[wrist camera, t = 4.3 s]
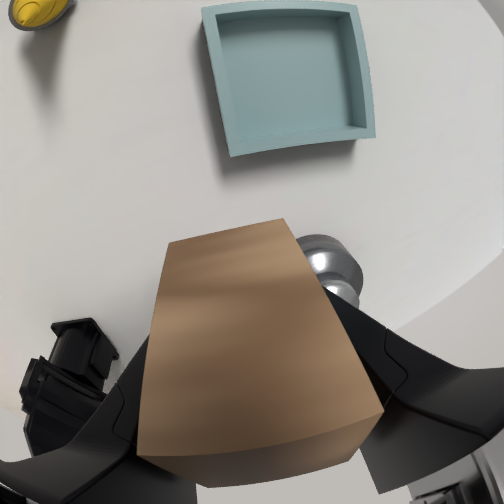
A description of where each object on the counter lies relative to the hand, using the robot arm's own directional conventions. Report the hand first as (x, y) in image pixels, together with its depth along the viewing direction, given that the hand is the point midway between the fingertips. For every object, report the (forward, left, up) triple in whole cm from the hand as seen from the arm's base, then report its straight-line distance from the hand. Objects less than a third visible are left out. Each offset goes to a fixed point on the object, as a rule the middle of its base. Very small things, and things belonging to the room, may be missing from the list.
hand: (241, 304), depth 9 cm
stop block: (0, 0, -2) cm, 2 cm away
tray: (+6, +8, -12) cm, 15 cm away
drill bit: (-9, +19, -12) cm, 24 cm away
